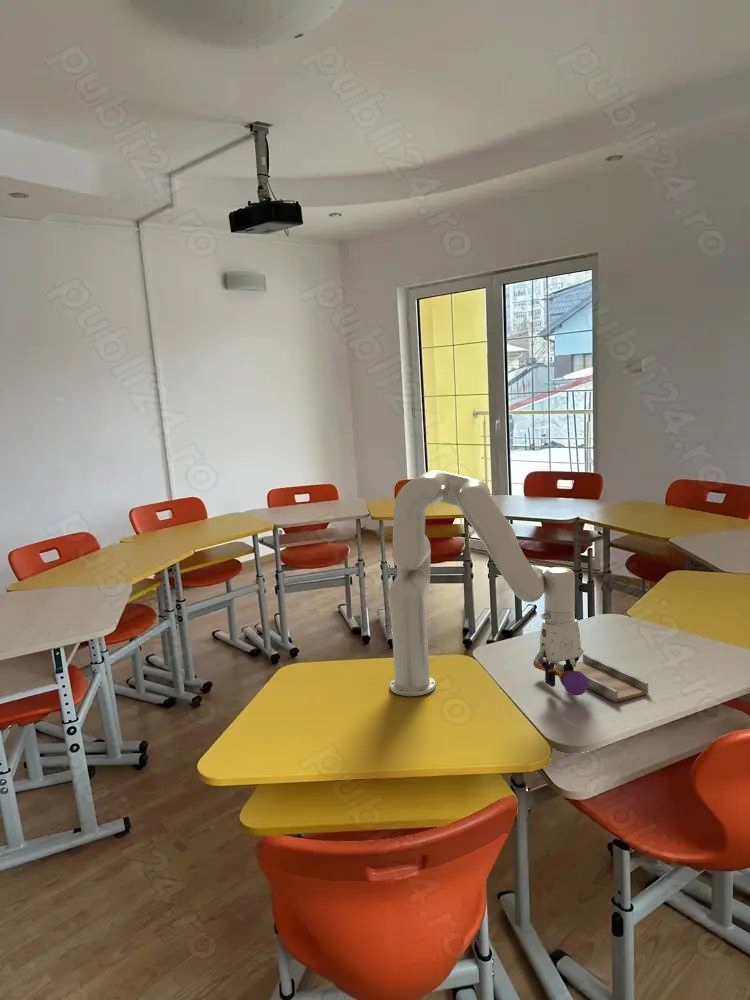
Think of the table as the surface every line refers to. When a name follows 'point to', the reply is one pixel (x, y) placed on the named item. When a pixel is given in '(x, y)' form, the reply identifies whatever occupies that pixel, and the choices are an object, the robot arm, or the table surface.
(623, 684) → the rail cradle
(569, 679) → the kendama
